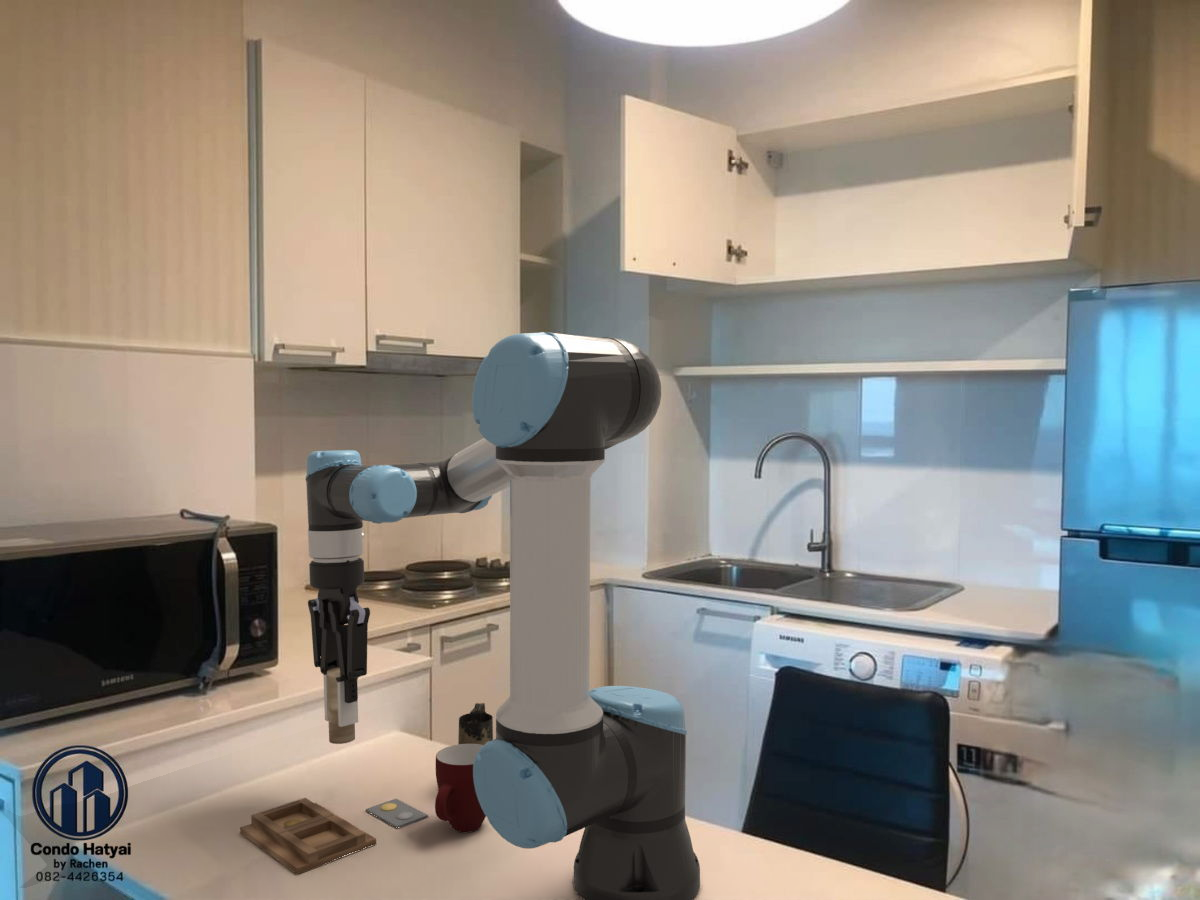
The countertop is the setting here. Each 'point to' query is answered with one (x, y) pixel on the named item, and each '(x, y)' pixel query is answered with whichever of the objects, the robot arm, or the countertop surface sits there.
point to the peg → (336, 712)
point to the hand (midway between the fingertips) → (341, 720)
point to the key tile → (397, 813)
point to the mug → (458, 788)
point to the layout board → (304, 835)
